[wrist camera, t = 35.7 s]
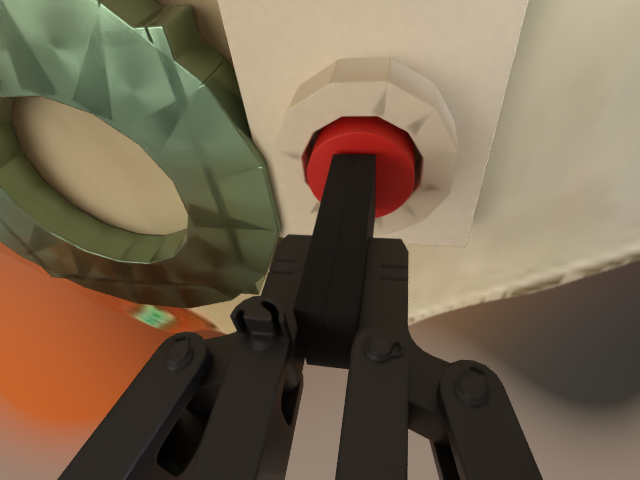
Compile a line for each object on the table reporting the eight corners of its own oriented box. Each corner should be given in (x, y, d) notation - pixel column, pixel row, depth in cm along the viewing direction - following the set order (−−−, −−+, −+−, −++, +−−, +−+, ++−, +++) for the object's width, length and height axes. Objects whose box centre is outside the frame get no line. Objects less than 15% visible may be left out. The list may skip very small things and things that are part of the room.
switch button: (418, 102, 14) (419, 132, 12) (410, 190, 17) (410, 222, 15) (311, 104, 15) (300, 132, 13) (321, 187, 17) (313, 217, 16)
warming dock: (233, -83, 13) (205, -71, 11) (307, 290, 28) (300, 319, 26) (-209, -33, 17) (-279, -18, 15) (63, 270, 32) (43, 294, 30)
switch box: (526, -56, 12) (558, -26, 9) (462, 221, 21) (469, 278, 18) (232, -30, 14) (187, 0, 11) (285, 213, 22) (267, 264, 20)
